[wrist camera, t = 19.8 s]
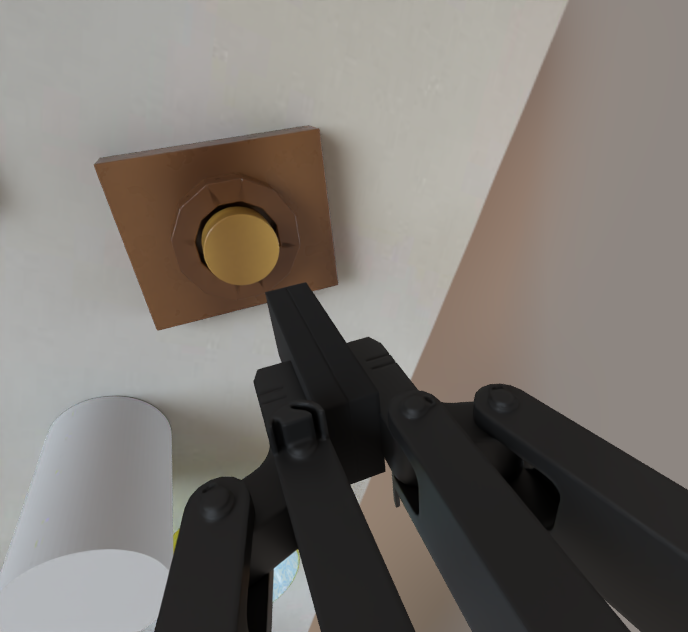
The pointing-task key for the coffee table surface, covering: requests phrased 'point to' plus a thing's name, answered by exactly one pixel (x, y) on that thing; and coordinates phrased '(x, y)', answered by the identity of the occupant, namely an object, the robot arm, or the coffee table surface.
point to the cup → (94, 524)
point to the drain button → (239, 246)
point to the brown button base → (207, 199)
